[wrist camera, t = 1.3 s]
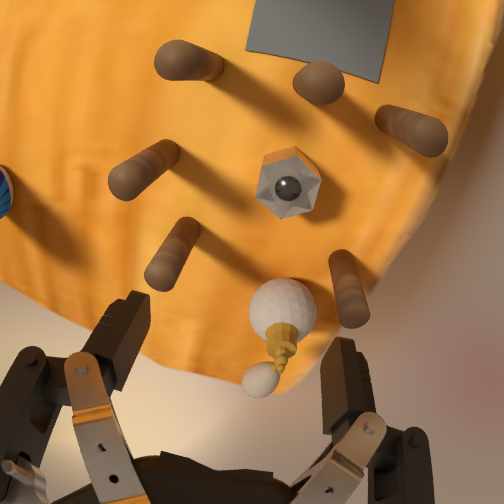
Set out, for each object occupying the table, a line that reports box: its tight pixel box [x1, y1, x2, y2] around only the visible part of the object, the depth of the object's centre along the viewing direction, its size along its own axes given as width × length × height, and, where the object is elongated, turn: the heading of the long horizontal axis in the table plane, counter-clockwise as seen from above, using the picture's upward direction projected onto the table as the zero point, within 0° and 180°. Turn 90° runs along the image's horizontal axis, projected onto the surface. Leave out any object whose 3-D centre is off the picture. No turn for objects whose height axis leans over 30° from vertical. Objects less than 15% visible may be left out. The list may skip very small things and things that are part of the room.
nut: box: [255, 146, 322, 219], centre depth 26 cm, size 6×5×4 cm
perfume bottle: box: [242, 278, 317, 398], centre depth 31 cm, size 8×10×12 cm
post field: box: [108, 40, 448, 329], centre depth 23 cm, size 20×23×9 cm
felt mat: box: [246, 0, 394, 83], centre depth 19 cm, size 10×12×1 cm
